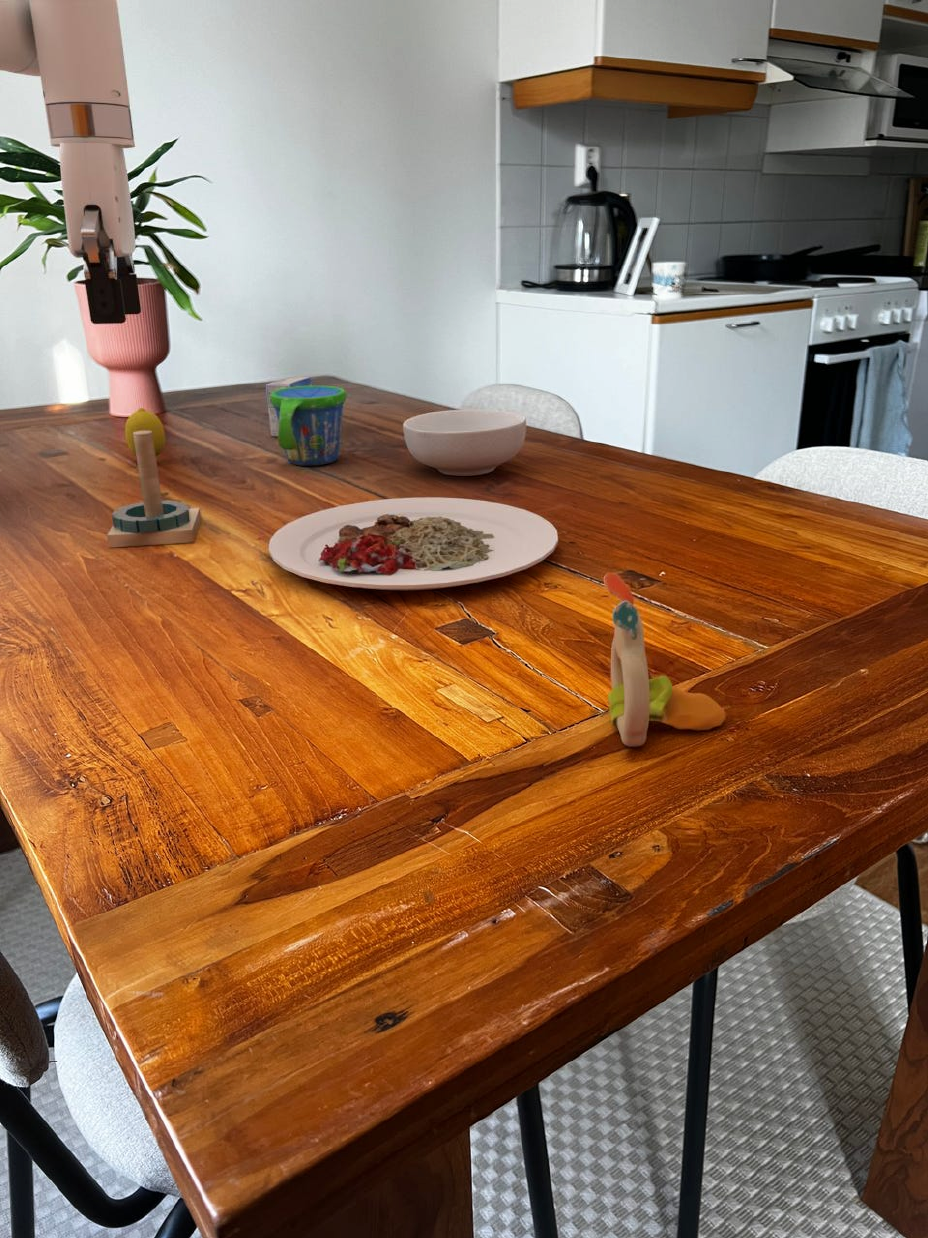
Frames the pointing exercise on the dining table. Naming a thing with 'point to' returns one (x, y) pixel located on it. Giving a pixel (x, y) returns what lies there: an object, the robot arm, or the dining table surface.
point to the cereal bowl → (465, 439)
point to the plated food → (413, 543)
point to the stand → (152, 503)
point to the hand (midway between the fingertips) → (117, 318)
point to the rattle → (647, 681)
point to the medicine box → (276, 386)
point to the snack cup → (309, 423)
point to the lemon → (145, 429)
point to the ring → (136, 521)
